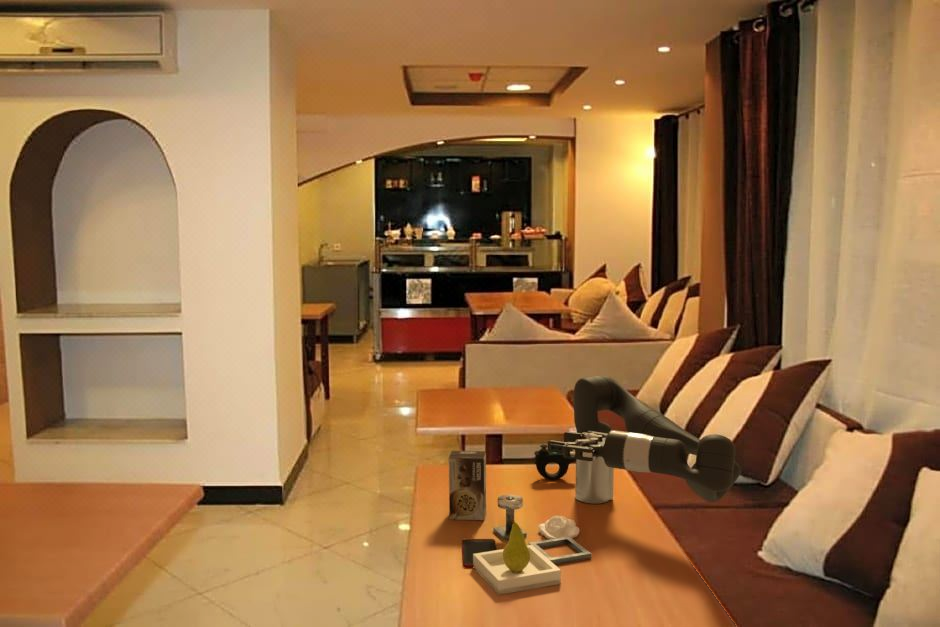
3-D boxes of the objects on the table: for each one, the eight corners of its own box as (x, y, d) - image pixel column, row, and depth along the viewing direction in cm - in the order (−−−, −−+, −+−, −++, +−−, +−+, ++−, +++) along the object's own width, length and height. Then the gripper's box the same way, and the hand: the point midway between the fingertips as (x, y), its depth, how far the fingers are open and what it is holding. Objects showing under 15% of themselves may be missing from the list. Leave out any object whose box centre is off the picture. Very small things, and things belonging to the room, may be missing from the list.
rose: (583, 513, 201) (575, 527, 192) (583, 530, 202) (575, 545, 193) (543, 508, 204) (533, 522, 195) (543, 525, 205) (533, 540, 196)
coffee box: (486, 511, 213) (487, 450, 211) (484, 521, 207) (485, 458, 205) (451, 510, 214) (451, 449, 212) (448, 519, 208) (448, 457, 206)
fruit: (526, 578, 172) (527, 522, 171) (499, 574, 174) (499, 519, 173) (532, 567, 178) (533, 513, 176) (506, 563, 180) (507, 510, 178)
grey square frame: (569, 541, 194) (569, 536, 194) (591, 558, 185) (591, 553, 185) (528, 547, 191) (528, 542, 191) (549, 565, 181) (549, 560, 181)
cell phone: (495, 542, 195) (495, 538, 194) (499, 569, 180) (499, 565, 180) (462, 542, 194) (462, 538, 194) (463, 569, 180) (463, 565, 180)
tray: (531, 557, 185) (531, 544, 185) (560, 583, 172) (560, 569, 172) (473, 567, 180) (473, 553, 180) (498, 594, 167) (498, 580, 167)
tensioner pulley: (516, 528, 202) (516, 492, 201) (526, 537, 197) (527, 500, 196) (493, 531, 200) (493, 495, 199) (503, 540, 195) (503, 503, 194)
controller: (533, 476, 242) (533, 443, 240) (575, 476, 242) (576, 443, 240) (534, 481, 237) (534, 447, 236) (577, 481, 237) (578, 447, 236)
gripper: (618, 478, 160) (542, 466, 168) (641, 461, 173) (569, 450, 180) (619, 440, 159) (542, 430, 167) (642, 425, 172) (569, 416, 180)
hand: (556, 441), depth 174 cm, fingers open, 8 cm apart
